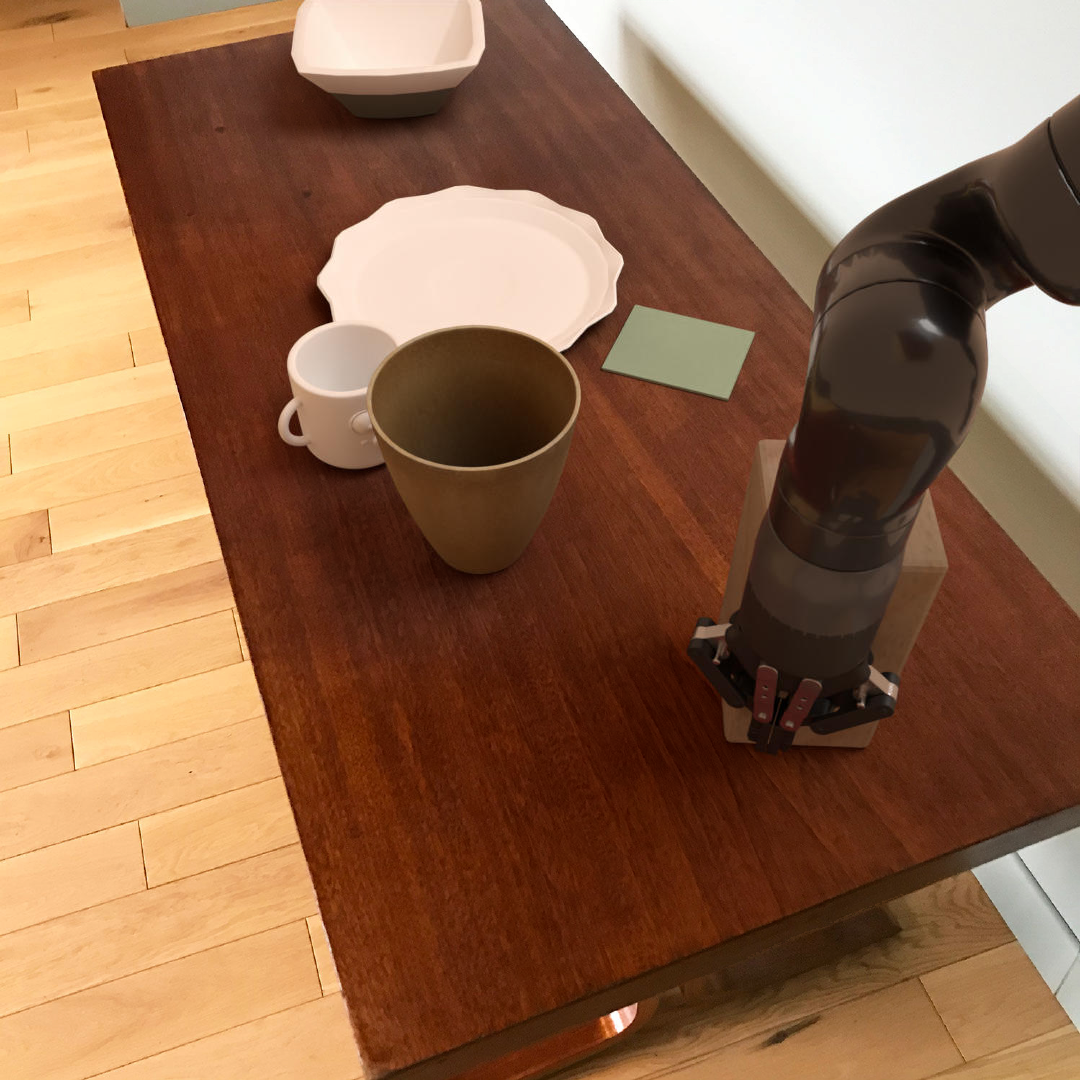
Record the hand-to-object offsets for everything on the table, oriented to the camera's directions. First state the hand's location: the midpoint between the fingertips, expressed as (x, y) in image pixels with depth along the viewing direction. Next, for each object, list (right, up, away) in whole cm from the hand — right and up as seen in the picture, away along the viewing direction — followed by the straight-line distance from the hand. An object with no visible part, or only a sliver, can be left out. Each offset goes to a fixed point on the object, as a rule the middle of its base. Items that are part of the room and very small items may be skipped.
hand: (768, 741), depth 73 cm
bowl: (-32, +67, +64) cm, 98 cm away
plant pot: (-19, +13, +17) cm, 29 cm away
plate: (-22, +38, +38) cm, 58 cm away
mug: (-31, +21, +24) cm, 45 cm away
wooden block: (+3, +2, +8) cm, 9 cm away
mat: (-2, +31, +32) cm, 44 cm away
